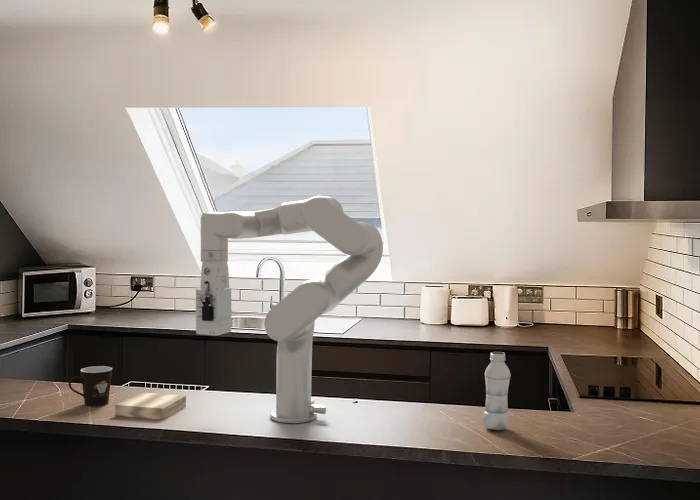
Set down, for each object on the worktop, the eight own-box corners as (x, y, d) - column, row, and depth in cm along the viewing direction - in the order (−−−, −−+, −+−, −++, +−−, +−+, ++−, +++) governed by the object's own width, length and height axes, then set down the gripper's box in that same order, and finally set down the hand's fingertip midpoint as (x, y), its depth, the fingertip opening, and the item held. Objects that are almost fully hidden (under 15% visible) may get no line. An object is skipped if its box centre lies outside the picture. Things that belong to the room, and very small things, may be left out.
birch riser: (185, 406, 203) (185, 395, 202) (162, 419, 189) (162, 408, 189) (141, 402, 206) (141, 392, 205) (115, 415, 192) (115, 404, 192)
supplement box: (210, 330, 204) (210, 286, 203) (232, 332, 201) (232, 287, 200) (194, 334, 197) (194, 288, 196) (217, 336, 194) (217, 290, 193)
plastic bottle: (480, 425, 188) (482, 350, 187) (506, 426, 187) (508, 351, 187) (484, 432, 181) (486, 355, 180) (511, 433, 181) (513, 355, 180)
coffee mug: (112, 399, 209) (112, 365, 209) (112, 406, 201) (112, 371, 201) (70, 401, 206) (70, 367, 205) (68, 409, 197) (68, 373, 197)
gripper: (214, 258, 189) (214, 323, 189) (238, 255, 206) (238, 315, 206) (188, 257, 190) (188, 322, 191) (214, 254, 207) (214, 314, 208)
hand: (214, 318), depth 199 cm, fingers closed on supplement box, 8 cm apart
